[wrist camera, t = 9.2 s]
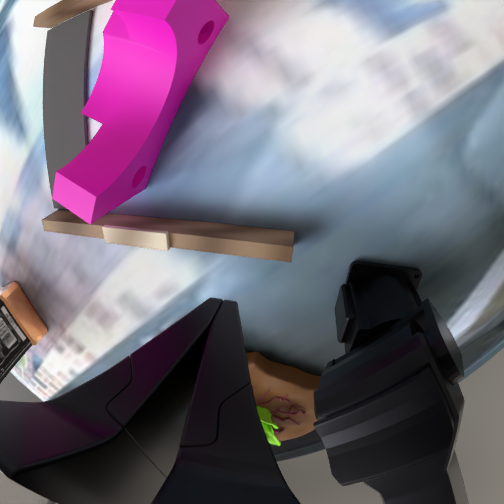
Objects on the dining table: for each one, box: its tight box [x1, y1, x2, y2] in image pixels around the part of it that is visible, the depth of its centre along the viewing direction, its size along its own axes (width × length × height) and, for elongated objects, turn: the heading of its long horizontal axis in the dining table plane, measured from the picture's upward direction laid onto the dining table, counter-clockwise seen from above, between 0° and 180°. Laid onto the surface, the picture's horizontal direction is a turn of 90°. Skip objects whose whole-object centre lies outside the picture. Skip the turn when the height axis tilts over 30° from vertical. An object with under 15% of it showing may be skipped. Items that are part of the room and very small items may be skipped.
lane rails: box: [33, 0, 294, 262], centre depth 16 cm, size 24×23×3 cm
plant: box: [246, 351, 321, 446], centre depth 29 cm, size 20×20×11 cm
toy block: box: [52, 0, 229, 225], centre depth 14 cm, size 15×6×8 cm, turn 152°
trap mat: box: [43, 11, 93, 209], centre depth 19 cm, size 6×19×1 cm, turn 178°
